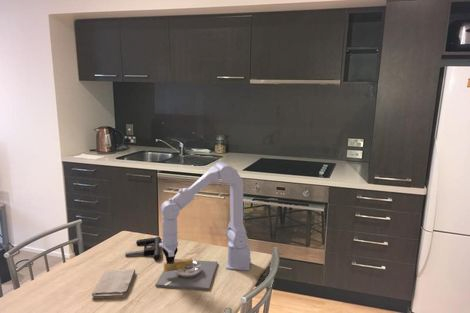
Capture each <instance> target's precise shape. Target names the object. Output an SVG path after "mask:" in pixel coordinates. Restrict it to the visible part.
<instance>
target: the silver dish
mask: <svg viewBox="0 0 470 313" xmlns="http://www.w3.org/2000/svg"><path fill="white" fill-rule="evenodd" d="M193 260H194V261H193ZM199 261H200V260H199ZM199 261H197V259H192V258H185V259H183V260H178V261H172V262H167V261H166V262H163V271H164V272H168V271H174V270H175V271H176V275H177V276H179V277H181V278H193V277H196V276H198V275H199V274H200V273H201V264H200V263H199Z"/></svg>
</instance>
